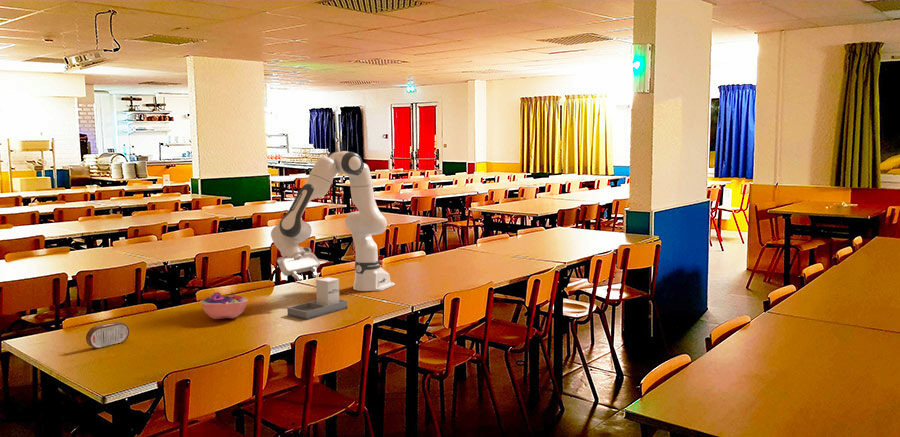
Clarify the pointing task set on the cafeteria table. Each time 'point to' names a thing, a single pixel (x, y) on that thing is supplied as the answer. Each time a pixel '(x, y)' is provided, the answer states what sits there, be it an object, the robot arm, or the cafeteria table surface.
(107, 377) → the cafeteria table surface
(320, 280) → the supplement box
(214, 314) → the cell model
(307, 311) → the grey divided tray
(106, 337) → the tin
